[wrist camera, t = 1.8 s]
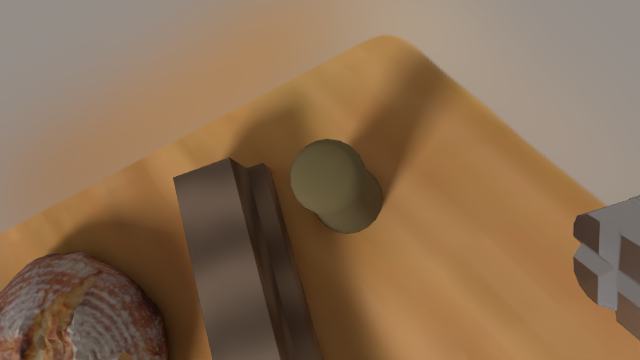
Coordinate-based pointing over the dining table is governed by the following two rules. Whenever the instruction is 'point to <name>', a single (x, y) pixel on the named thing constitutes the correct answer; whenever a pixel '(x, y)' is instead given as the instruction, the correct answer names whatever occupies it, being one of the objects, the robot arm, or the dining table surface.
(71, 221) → the dining table surface
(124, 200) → the dining table surface
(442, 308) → the dining table surface
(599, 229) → the robot arm
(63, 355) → the bread
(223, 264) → the ridge stand
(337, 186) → the olive pawn
